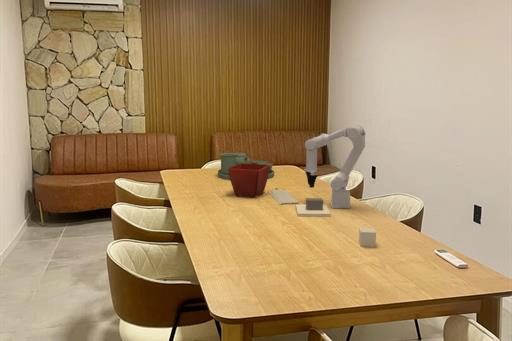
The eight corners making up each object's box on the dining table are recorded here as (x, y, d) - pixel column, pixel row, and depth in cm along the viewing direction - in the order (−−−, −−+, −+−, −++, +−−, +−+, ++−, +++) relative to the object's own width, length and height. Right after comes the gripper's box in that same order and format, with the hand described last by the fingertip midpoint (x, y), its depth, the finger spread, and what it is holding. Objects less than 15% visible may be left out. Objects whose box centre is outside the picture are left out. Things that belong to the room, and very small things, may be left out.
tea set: (255, 184, 318) (255, 159, 315) (206, 177, 339) (205, 154, 336) (284, 174, 351) (284, 151, 348) (238, 169, 372) (238, 147, 369)
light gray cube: (358, 241, 203) (359, 227, 202) (373, 242, 202) (374, 228, 201) (360, 246, 197) (360, 232, 196) (375, 246, 196) (376, 232, 195)
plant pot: (227, 196, 282) (227, 167, 279) (240, 190, 299) (240, 162, 296) (258, 199, 274) (258, 170, 271) (270, 192, 292) (270, 164, 289)
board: (325, 207, 258) (325, 204, 258) (330, 216, 240) (330, 213, 240) (295, 207, 258) (295, 204, 258) (298, 216, 240) (298, 213, 240)
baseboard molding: (276, 206, 263) (298, 205, 265) (276, 200, 263) (298, 199, 265) (266, 193, 293) (285, 192, 295) (266, 188, 293) (285, 187, 295)
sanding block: (321, 207, 251) (321, 198, 250) (322, 210, 246) (323, 200, 245) (305, 207, 251) (306, 198, 250) (306, 210, 246) (307, 200, 245)
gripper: (302, 159, 271) (302, 183, 273) (305, 163, 257) (304, 188, 259) (315, 159, 271) (315, 183, 273) (318, 163, 256) (318, 188, 259)
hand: (310, 185), depth 266 cm, fingers open, 7 cm apart
